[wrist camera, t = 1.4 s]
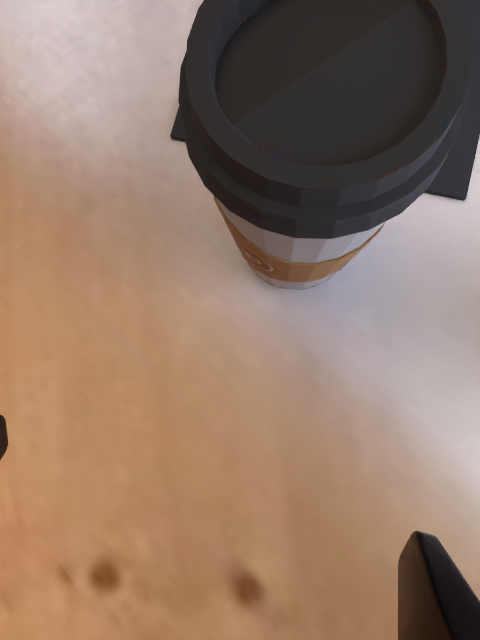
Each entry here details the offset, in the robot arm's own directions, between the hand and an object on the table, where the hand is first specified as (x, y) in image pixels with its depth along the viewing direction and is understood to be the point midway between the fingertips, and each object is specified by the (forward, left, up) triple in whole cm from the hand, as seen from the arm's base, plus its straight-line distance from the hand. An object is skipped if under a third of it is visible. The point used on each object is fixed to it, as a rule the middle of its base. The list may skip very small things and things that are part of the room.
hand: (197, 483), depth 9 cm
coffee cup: (+9, +6, -16) cm, 19 cm away
